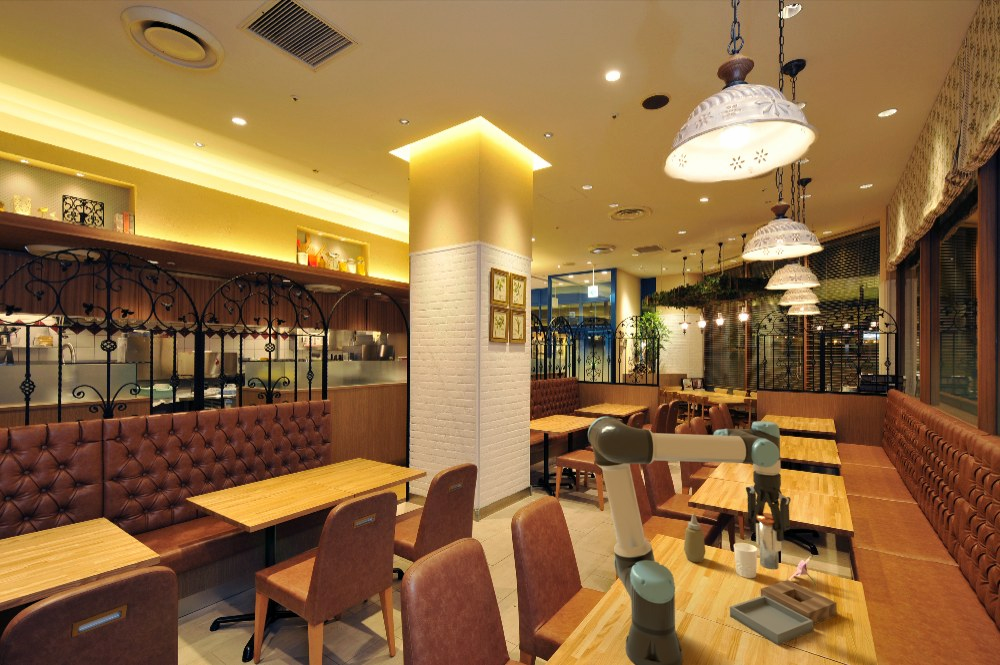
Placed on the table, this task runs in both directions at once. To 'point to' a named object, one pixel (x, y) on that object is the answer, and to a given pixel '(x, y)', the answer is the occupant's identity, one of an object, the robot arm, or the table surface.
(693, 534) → the squeeze bottle
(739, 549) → the white cup
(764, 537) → the copper-capped cylinder
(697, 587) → the table surface
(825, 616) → the socket block
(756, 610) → the tray
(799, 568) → the lily
